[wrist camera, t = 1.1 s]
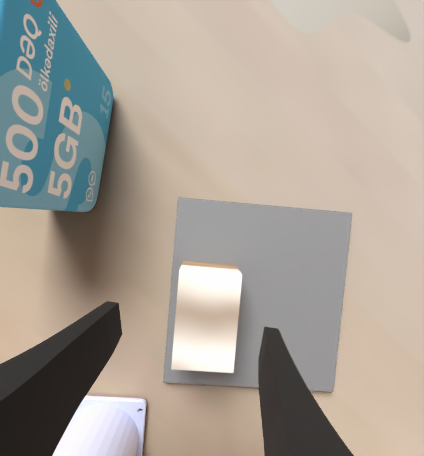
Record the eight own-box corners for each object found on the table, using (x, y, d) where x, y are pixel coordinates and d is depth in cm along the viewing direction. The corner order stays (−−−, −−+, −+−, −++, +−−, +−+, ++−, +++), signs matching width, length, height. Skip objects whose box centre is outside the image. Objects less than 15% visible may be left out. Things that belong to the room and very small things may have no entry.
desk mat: (329, 387, 24) (333, 391, 23) (164, 378, 23) (163, 382, 22) (348, 213, 23) (352, 212, 23) (178, 197, 22) (178, 197, 22)
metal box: (227, 346, 23) (233, 373, 19) (176, 342, 22) (171, 369, 18) (235, 264, 22) (242, 274, 18) (183, 260, 22) (179, 269, 18)
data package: (96, 213, 22) (-28, 205, 10) (48, 204, 22) (-135, 187, 10) (116, 88, 22) (12, -69, 10) (68, 78, 22) (-97, -94, 10)
